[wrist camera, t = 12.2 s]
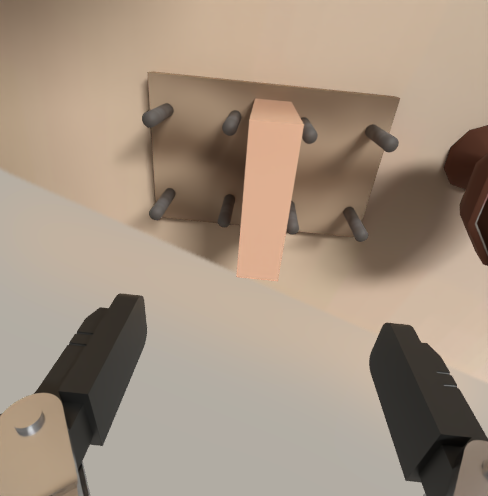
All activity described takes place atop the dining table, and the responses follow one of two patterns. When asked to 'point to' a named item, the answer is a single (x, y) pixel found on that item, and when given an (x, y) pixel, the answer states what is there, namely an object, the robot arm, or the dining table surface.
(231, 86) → the dish rack
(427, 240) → the dining table surface
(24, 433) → the robot arm
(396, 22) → the dining table surface
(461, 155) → the ice cream bowl
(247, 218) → the peach chamfered block
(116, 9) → the dining table surface
